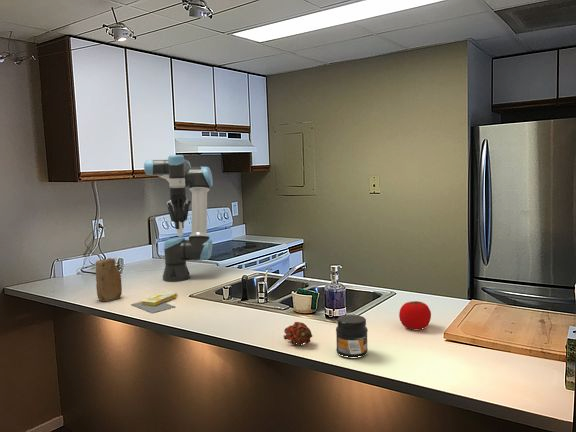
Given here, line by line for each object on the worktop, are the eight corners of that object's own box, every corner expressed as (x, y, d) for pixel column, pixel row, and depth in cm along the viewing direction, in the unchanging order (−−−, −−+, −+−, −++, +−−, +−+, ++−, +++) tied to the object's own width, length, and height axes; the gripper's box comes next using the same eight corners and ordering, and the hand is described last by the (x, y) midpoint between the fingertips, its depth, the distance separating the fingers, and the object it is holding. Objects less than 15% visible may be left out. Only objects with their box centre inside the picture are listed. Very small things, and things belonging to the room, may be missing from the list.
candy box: (177, 297, 240) (163, 295, 243) (177, 293, 240) (163, 291, 243) (154, 306, 225) (141, 304, 229) (154, 302, 225) (140, 299, 229)
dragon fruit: (310, 353, 170) (286, 349, 179) (321, 333, 175) (297, 331, 184) (298, 337, 167) (274, 334, 175) (309, 318, 171) (285, 316, 180)
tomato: (412, 335, 181) (412, 307, 180) (393, 325, 191) (393, 299, 190) (437, 330, 185) (438, 303, 184) (418, 321, 196) (418, 295, 195)
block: (101, 303, 234) (98, 262, 232) (96, 300, 240) (93, 259, 238) (123, 298, 241) (121, 258, 239) (118, 295, 247) (115, 256, 245)
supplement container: (356, 362, 158) (355, 326, 156) (330, 354, 165) (329, 319, 163) (373, 352, 165) (373, 317, 164) (348, 345, 172) (347, 312, 171)
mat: (154, 299, 238) (154, 298, 238) (175, 307, 224) (175, 306, 224) (130, 304, 230) (130, 304, 230) (152, 313, 216) (151, 312, 216)
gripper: (169, 188, 230) (172, 237, 232) (193, 186, 238) (195, 234, 241) (161, 187, 235) (164, 236, 237) (185, 186, 244) (187, 233, 246)
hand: (180, 235), depth 239 cm, fingers closed
